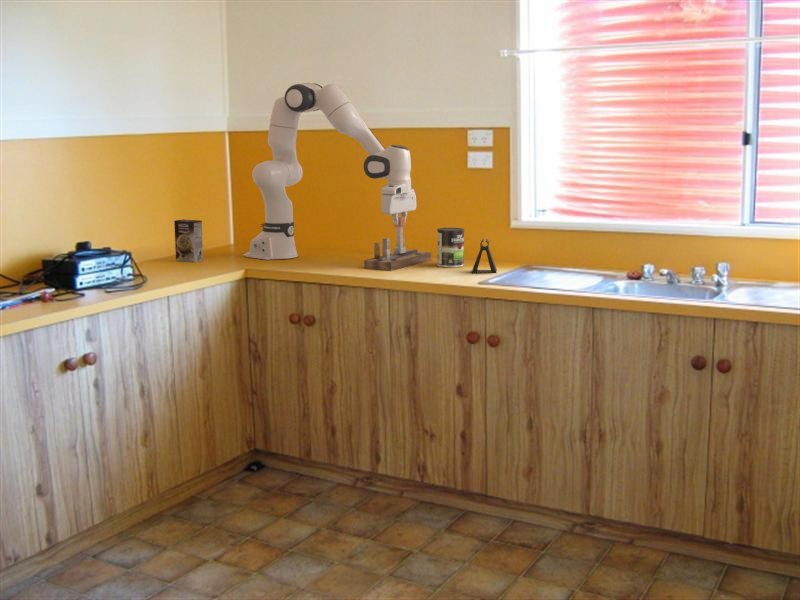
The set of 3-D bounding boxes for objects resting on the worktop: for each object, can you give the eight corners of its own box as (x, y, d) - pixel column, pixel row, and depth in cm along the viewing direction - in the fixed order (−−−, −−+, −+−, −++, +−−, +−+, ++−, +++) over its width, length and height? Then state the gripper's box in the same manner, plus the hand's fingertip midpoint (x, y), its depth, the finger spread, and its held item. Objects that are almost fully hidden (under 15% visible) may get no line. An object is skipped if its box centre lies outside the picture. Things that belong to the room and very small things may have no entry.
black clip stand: (496, 271, 364) (497, 238, 362) (496, 273, 358) (496, 241, 356) (472, 270, 365) (472, 238, 363) (471, 273, 359) (471, 240, 357)
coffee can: (469, 265, 376) (469, 229, 373) (450, 268, 370) (450, 231, 367) (450, 262, 384) (451, 226, 381) (431, 265, 377) (431, 228, 374)
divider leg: (393, 253, 380) (393, 216, 377) (398, 251, 383) (398, 215, 380) (400, 253, 378) (400, 217, 375) (405, 252, 381) (405, 216, 379)
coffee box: (175, 261, 389) (173, 220, 386) (184, 258, 395) (182, 218, 392) (194, 262, 386) (193, 221, 383) (203, 260, 392) (202, 219, 389)
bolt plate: (364, 268, 371) (364, 239, 369) (405, 257, 396) (405, 230, 394) (391, 270, 365) (391, 241, 363) (431, 260, 390) (431, 232, 388)
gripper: (406, 185, 386) (406, 221, 389) (378, 189, 369) (378, 226, 372) (420, 186, 383) (420, 221, 385) (392, 190, 366) (392, 227, 368)
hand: (399, 224), depth 378 cm, fingers closed on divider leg, 3 cm apart
